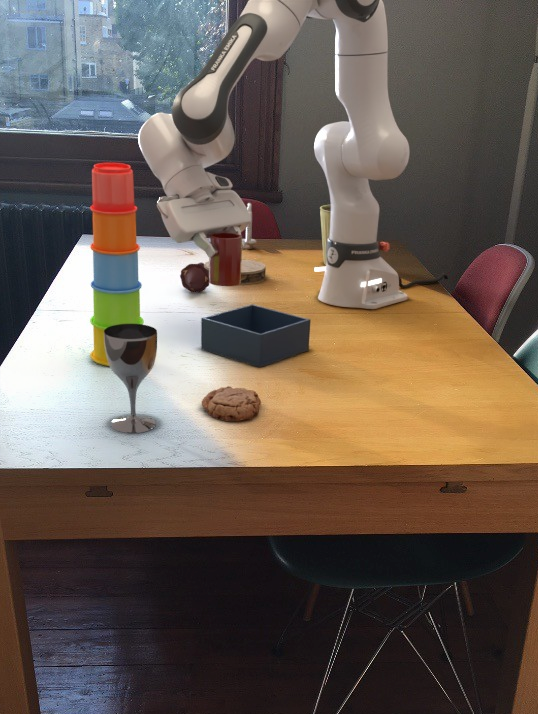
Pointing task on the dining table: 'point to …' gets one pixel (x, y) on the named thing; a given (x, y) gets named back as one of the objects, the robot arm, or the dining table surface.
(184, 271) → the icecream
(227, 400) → the cookie
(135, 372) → the metal goblet
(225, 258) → the canister
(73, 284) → the dining table surface
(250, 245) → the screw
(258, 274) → the wood slice
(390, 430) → the dining table surface
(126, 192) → the stacking cups
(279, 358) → the tote
